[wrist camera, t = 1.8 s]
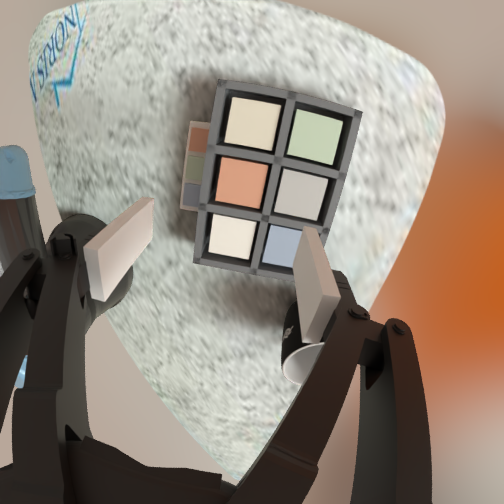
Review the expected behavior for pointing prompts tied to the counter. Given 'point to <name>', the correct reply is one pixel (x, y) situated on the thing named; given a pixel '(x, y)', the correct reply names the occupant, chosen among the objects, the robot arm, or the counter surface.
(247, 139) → the key
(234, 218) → the key
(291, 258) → the key
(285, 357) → the mug
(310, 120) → the key
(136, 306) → the counter surface
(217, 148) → the gray compartment tray
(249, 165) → the orange square block
